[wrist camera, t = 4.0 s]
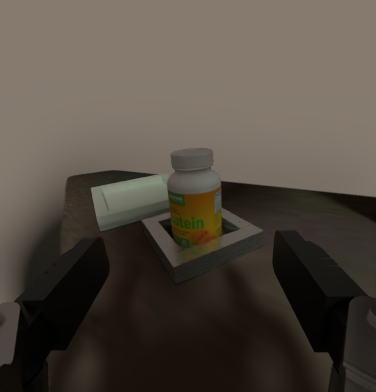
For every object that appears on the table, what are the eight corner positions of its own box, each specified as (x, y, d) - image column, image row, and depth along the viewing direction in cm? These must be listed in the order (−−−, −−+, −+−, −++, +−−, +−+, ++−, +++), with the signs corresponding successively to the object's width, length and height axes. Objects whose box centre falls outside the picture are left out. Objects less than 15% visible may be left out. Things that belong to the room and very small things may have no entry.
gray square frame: (210, 212, 28) (209, 200, 28) (262, 246, 20) (263, 230, 19) (143, 233, 24) (141, 220, 24) (175, 285, 16) (173, 267, 16)
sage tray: (166, 182, 44) (165, 173, 44) (200, 203, 32) (200, 191, 31) (93, 197, 38) (90, 187, 37) (100, 231, 26) (96, 217, 25)
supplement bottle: (164, 249, 21) (151, 156, 18) (185, 224, 26) (177, 147, 22) (214, 259, 19) (210, 156, 15) (226, 230, 23) (226, 146, 20)
